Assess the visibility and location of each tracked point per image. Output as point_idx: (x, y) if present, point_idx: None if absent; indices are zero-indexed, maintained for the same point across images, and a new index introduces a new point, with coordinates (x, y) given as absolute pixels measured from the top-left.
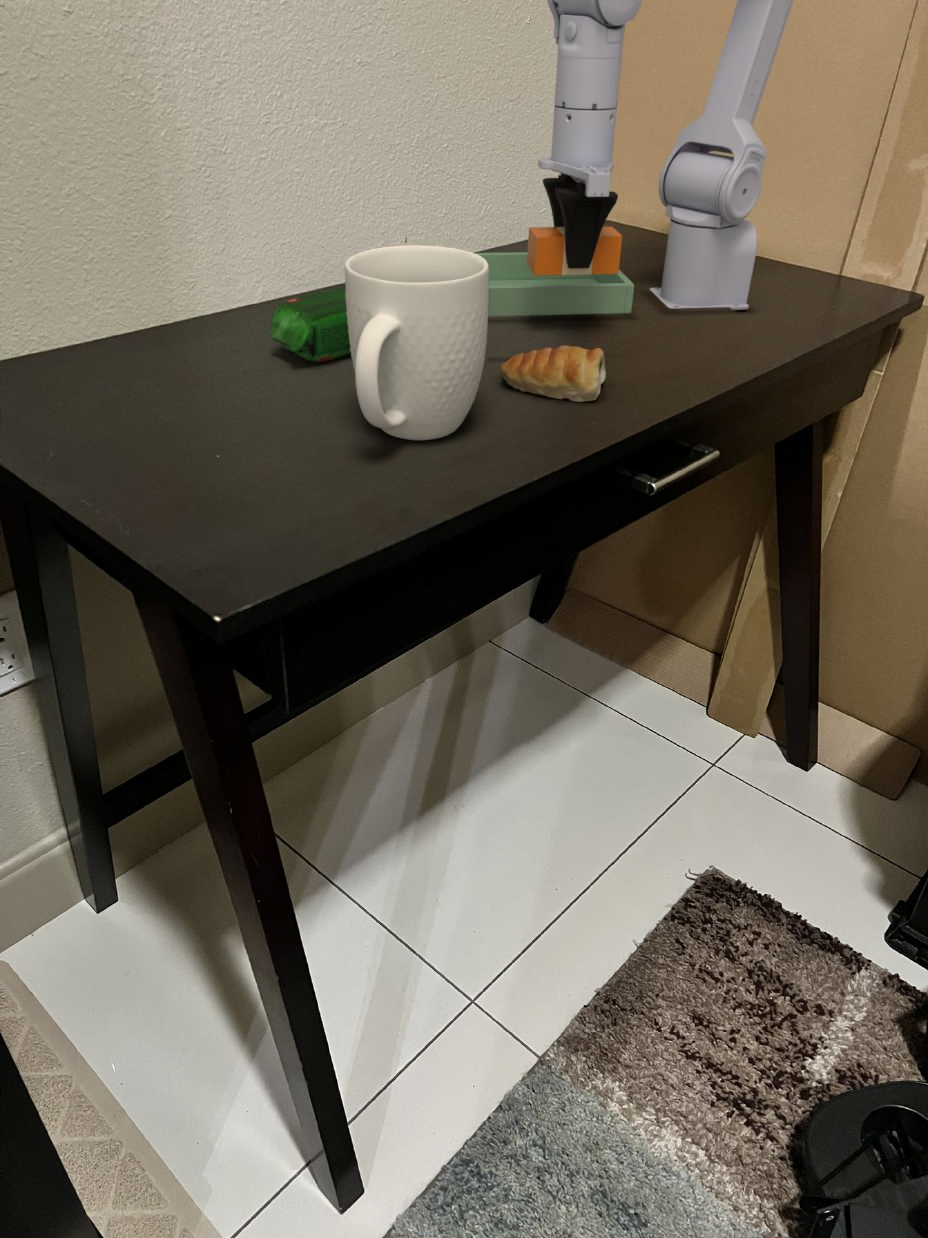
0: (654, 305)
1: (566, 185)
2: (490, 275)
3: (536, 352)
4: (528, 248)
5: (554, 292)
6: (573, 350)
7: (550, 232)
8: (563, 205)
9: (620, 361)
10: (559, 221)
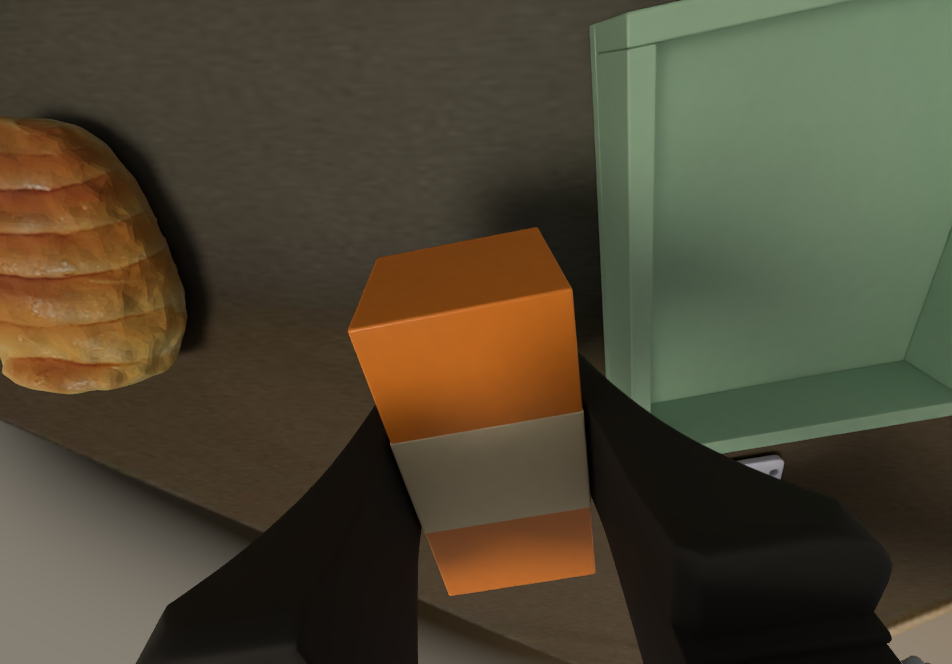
0: None
1: (669, 630)
2: None
3: (13, 232)
4: (532, 253)
5: (623, 281)
6: (20, 333)
7: (463, 389)
8: (183, 594)
9: (323, 385)
10: (597, 438)
